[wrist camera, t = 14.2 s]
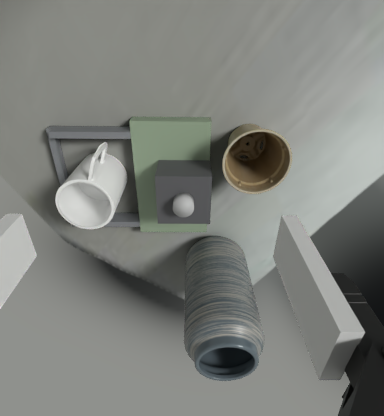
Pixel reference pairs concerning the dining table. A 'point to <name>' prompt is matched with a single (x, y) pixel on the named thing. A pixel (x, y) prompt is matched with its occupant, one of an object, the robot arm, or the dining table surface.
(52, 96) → the dining table surface
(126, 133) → the square frame with panel
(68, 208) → the cup
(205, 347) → the vase
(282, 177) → the flower pot
